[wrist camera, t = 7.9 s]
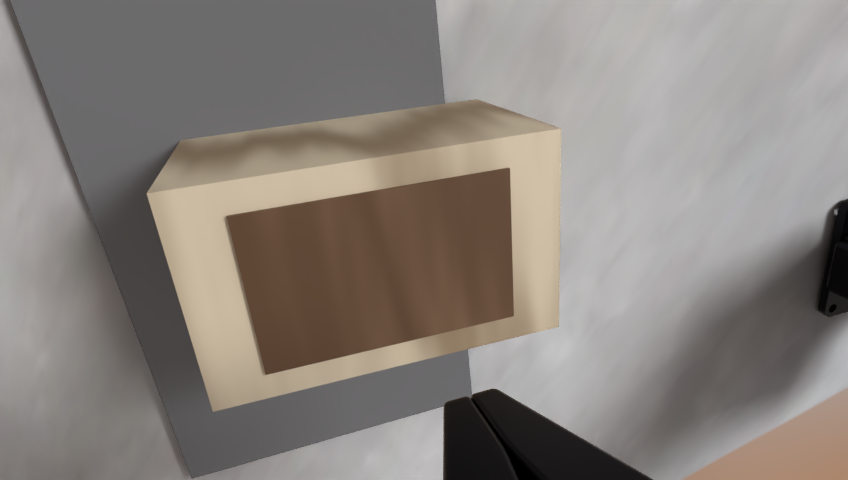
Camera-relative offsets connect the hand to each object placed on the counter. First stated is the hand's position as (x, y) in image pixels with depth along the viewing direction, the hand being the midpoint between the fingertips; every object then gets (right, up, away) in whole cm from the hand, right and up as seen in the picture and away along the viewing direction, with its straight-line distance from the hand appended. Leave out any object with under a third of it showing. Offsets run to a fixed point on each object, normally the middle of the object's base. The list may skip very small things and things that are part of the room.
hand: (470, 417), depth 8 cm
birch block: (+2, +4, +10) cm, 11 cm away
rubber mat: (-5, +4, +11) cm, 13 cm away
